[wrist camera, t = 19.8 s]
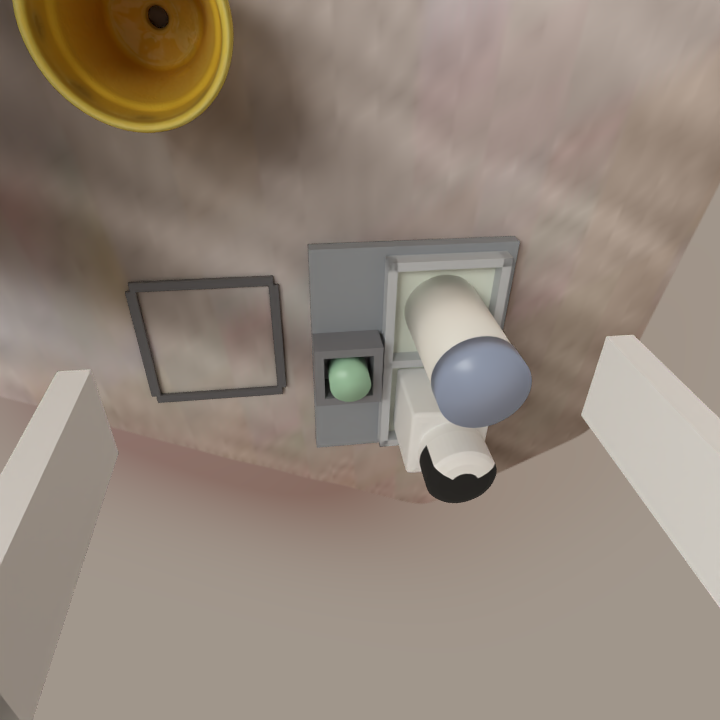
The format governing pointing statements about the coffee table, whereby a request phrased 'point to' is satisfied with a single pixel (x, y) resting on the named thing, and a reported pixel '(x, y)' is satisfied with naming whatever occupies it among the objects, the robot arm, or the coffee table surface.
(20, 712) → the robot arm
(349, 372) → the button
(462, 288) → the cream and blue canister
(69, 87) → the plant pot
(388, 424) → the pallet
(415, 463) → the medicine bottle
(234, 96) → the coffee table surface
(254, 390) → the frame
